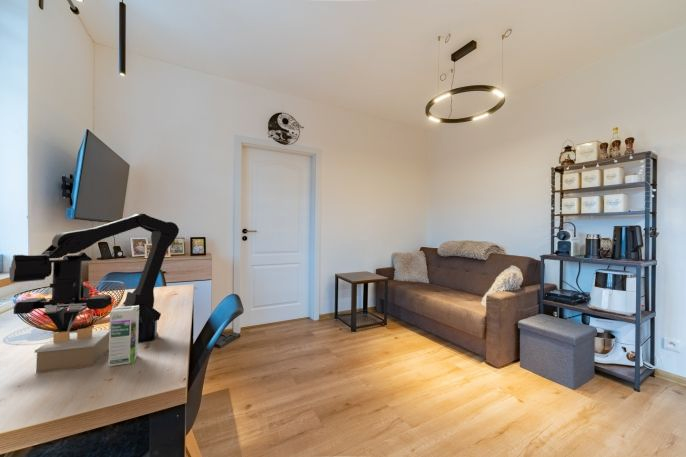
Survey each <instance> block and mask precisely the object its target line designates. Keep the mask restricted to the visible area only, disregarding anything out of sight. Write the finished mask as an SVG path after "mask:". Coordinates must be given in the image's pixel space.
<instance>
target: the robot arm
mask: <svg viewBox="0 0 686 457" xmlns="http://www.w3.org/2000/svg"><path fill="white" fill-rule="evenodd" d="M137 228H142V229H144V230H145V231H148V232H150V233H151V234H150V238H151V239H150V240H151V248H150V250H149V253H148V254H147V255H148V256H147V259H146V261H145V264H144V267H143V270H142V273H141V276H140V278H139V281H138V284H137V286H136V288H135V289H134V290H133V291H132V292H130V291H127V293H126V296H125V300H124V302H123V303H122V305H123V307H126V306H137V305H139V328H138V343H139V342H140V343H141V342H148V341H149V342H150V341H154V340H155V339H156V338H157V336H158V334H159V332H157V331H158V329H157V328H158V321H159V320H160V318H161V316H162V315H161V314H162V313H161V312H159V311H157V309H155V308H154V304H155V294H154V293H155V292H154V290H155V287H156V284H157V280H158V278H159V274H160V272H161V269H162V266H163V263H164V260H165V257H166V254H167V251H168V249H169V247H170V246H172V244H173V243H175V240H176V238H177V237H178V234H179V232H180V228H179V227H178V225H177V224H176V223H175V222H173V221H165V220H161V219H159V218H155V217H152V216H150V215H148V214H146V213H134V214H133V215H130V216H127V217H124V218H121V219H117V220H115V221H114V220H113V221H112V222H108V223H105V224H100V225H98V226H95V227H92V228H84V229H77V230H70V231H65V232H60V233H57V234H55V235H54V237H53V238H52V239H51V245H50V246H48V247H47V248H46V249H45V250H44V251H43V252H41V254H26V255H25V254H13V256H12V261H11V264H10V267H9V281H10V283H12V284H14V283H25V282H27V283H28V282H37V281H45V279H46V278H48V277H50V276H51V275H52V282H51V283H49V288H51V289H52V290H51V298H50V299H48V300H47V298H46V297H35V298H26V299H24V300H23V299H22V300H20V301H18V302H16V303H15V304H14V306H13V315H21V314H22V315H23V314H30V313H31V312H32V311H34V310H37V309H45V310H44V312H43V313H42V315H43V316H47V317H48V318H49V319H50V321H51V322H52V323H53V324H54V325H55V327H56V328H57V330H58V332H64V331H70V332H71V329H72V327H73V325H74V323H75V320H76V318H77V317H78V315H79V314H80V313H81V312H83V311H84V310H87V309H88V310H103V309H105V308H107V307H109V306H110V305H112V303H113V302H112V299H113V298H112V296H111V295H109V294H102V295H101V294H100V295H99V294H97V295H93V296H91V297H89V295H90V291H91V287H90V286H87V285H85V284H84V280H83V279H82V274H83V273H82V272H83V270H82V269H83V262H89V261H92V260H93V259H92V258H91V257H90V256H88V255H87V254H86V252H83V251H84V250H87V249H88V248H90V247H92V246H93V245H95V244H96V243H97V242H101V241H102V240H104V239H107V238H111V237H114V236H116V235H119V234H122V233H126V232H128V231H131V230H134V229H137ZM73 254H75V255H73Z"/></svg>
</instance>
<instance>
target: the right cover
mask: <svg viewBox="0 0 686 457" xmlns="http://www.w3.org/2000/svg"><path fill="white" fill-rule="evenodd" d="M109 331H110V329H103V330H102V329H101V330H93V327H89V328H78V329H77V330H76V332H70V337H69V340H74V339H85V338H96V337H103V338H104V337H105V336H106V335H108V334H109ZM48 342H53V338H52V339H51V340H49V341H48Z"/></svg>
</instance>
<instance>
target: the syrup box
mask: <svg viewBox="0 0 686 457" xmlns="http://www.w3.org/2000/svg"><path fill="white" fill-rule="evenodd" d="M138 328H139V305H137V306H126V307H124V306H116V307H115V306H114V308H112V310H111V311H110V313H109V330H110V331H109V350H108V358H107V359H108V362H107V366H108V368H111V367H114V366H115V367H116V366H121V365H129V364H134V363H135V362H136V359H137V357H138V351H139V348H138V347H139V342H138Z"/></svg>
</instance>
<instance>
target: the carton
mask: <svg viewBox="0 0 686 457" xmlns="http://www.w3.org/2000/svg"><path fill="white" fill-rule="evenodd" d="M108 352H109V334H108V335H106V336H105V337H104V338H103V339H102V340H101V341H100V342H99V343H97V344H96V345H95V346H94V347H85V348H76V349H66V350H56V351H47V352H37V353H36V363H35V364H36V366H35V368H36V369H35V371H36V372H35V374H40V373H51V372H58V371H65V370H66V371H67V370H73V369H81V368H89V367H90V368H91V367H93V366H94V365H96V364H97V362H99V360H100V359H101V358H103V356H104V355H105V354H106V353H108Z"/></svg>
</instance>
